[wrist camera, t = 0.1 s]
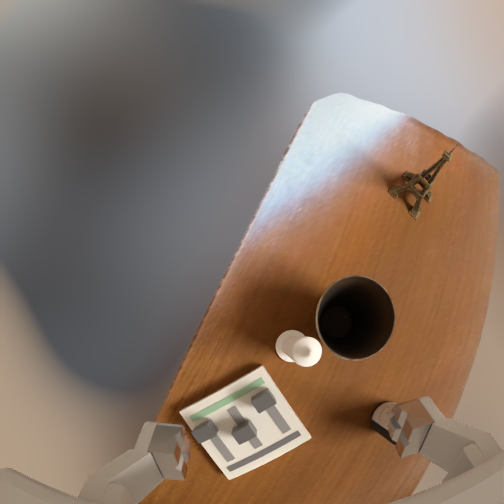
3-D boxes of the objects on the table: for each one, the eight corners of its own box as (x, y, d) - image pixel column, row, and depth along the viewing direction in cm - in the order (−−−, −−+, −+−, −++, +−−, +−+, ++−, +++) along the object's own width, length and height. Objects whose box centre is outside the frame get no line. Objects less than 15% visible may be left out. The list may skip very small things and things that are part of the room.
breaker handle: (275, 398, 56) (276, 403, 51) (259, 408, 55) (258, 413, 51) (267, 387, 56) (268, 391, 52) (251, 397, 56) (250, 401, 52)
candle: (284, 367, 61) (299, 387, 37) (269, 339, 62) (275, 343, 38) (313, 352, 61) (344, 362, 37) (298, 324, 63) (321, 318, 39)
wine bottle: (365, 410, 57) (430, 452, 28) (394, 394, 57) (470, 422, 29) (374, 437, 55) (438, 487, 26) (402, 421, 55) (476, 457, 26)
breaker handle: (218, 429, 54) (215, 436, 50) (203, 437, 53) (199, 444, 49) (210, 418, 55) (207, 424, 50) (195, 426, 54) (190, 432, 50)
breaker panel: (309, 433, 56) (311, 438, 53) (230, 474, 54) (229, 480, 50) (262, 364, 61) (262, 366, 58) (182, 408, 58) (178, 412, 55)
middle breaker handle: (256, 429, 54) (256, 436, 50) (240, 438, 53) (239, 445, 49) (249, 418, 54) (248, 424, 50) (233, 427, 54) (231, 433, 50)
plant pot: (292, 303, 64) (302, 293, 49) (352, 279, 65) (377, 262, 50) (316, 365, 60) (333, 374, 45) (375, 338, 61) (406, 338, 46)
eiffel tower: (433, 197, 71) (481, 151, 47) (415, 220, 69) (467, 174, 45) (406, 171, 73) (447, 117, 49) (387, 191, 71) (430, 137, 47)
